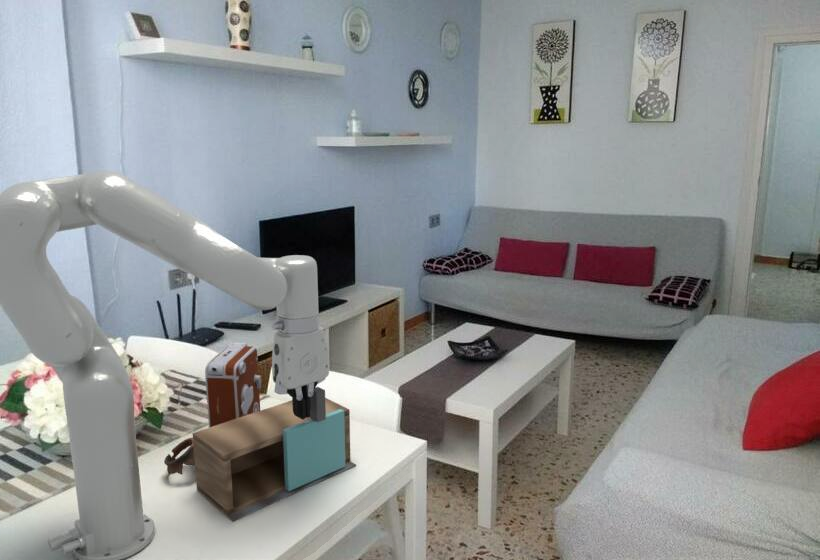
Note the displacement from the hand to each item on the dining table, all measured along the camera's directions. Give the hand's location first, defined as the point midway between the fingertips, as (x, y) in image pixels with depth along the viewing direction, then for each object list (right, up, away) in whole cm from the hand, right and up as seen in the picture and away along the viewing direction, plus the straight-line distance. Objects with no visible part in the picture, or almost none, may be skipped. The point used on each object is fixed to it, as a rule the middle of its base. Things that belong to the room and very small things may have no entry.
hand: (302, 415), depth 120 cm
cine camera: (-19, -9, +26) cm, 34 cm away
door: (+2, -13, +5) cm, 14 cm away
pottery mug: (-23, -13, +9) cm, 28 cm away
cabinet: (-6, -14, +7) cm, 16 cm away
